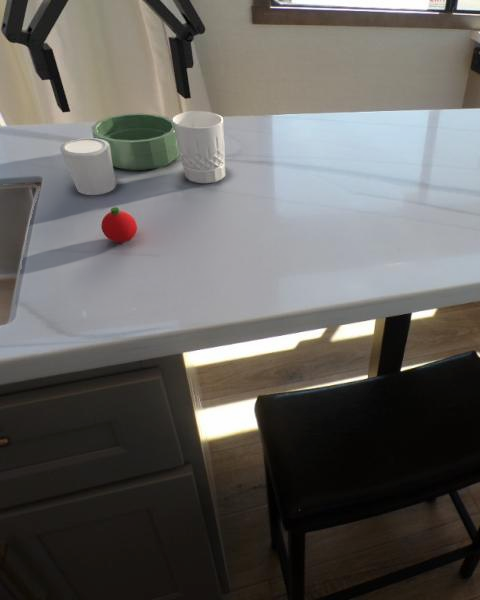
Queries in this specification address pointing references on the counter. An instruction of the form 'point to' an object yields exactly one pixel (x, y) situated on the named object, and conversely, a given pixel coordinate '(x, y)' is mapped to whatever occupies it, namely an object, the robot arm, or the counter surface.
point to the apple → (119, 226)
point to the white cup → (201, 145)
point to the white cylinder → (90, 165)
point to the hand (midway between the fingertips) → (127, 101)
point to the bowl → (138, 140)
